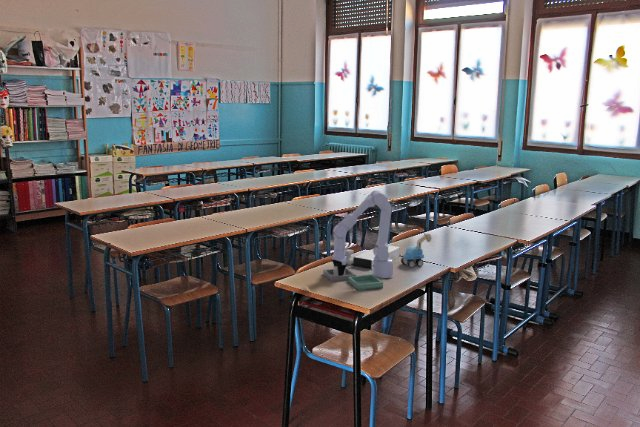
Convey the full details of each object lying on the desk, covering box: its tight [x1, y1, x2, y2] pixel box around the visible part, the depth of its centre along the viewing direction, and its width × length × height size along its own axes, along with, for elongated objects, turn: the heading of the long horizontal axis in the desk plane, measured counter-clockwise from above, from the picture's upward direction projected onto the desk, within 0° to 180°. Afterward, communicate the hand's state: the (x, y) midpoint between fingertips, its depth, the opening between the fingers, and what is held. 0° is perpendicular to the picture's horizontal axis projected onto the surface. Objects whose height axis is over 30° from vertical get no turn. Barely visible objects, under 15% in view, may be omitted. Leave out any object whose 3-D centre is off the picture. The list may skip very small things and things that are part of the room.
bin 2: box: [347, 274, 384, 292], centre depth 272 cm, size 13×13×3 cm
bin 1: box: [322, 267, 357, 283], centre depth 284 cm, size 13×13×3 cm
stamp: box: [345, 248, 355, 266], centre depth 307 cm, size 9×7×8 cm
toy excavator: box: [400, 232, 432, 268], centre depth 307 cm, size 9×17×17 cm, turn 112°
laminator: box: [352, 244, 401, 271], centre depth 313 cm, size 34×12×6 cm, turn 146°
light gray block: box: [332, 265, 345, 276], centre depth 283 cm, size 5×4×5 cm
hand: (339, 274), depth 284 cm, fingers closed on light gray block, 4 cm apart
